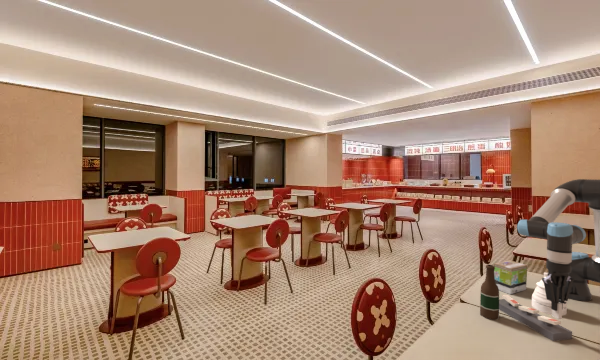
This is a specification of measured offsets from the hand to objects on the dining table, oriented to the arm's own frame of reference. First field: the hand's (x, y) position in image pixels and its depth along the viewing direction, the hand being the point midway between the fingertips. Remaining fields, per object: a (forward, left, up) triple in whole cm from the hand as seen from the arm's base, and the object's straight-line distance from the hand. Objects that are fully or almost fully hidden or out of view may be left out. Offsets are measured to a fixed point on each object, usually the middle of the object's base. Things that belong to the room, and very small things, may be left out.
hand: (556, 317), depth 115 cm
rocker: (0, -21, -3) cm, 21 cm away
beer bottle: (+14, -19, -8) cm, 25 cm away
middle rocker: (0, -12, -3) cm, 12 cm away
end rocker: (0, -3, -3) cm, 4 cm away
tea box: (-21, -42, -8) cm, 48 cm away
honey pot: (-20, -20, -8) cm, 29 cm away
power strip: (0, -12, -8) cm, 14 cm away
